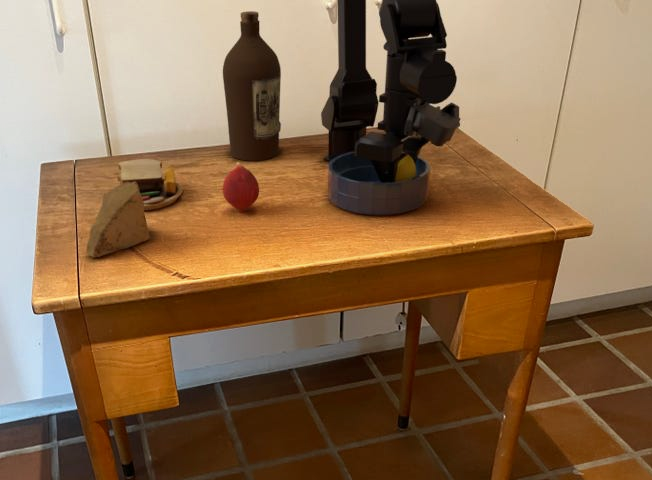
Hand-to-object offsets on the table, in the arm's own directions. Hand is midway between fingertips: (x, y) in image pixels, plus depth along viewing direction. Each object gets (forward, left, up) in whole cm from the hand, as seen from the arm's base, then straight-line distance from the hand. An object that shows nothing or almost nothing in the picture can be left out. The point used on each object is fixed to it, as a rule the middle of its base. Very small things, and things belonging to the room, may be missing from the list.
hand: (396, 187), depth 118 cm
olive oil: (-34, +8, -3) cm, 35 cm away
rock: (-27, -36, -3) cm, 45 cm away
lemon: (0, 0, -2) cm, 2 cm away
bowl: (-3, 0, -2) cm, 4 cm away
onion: (-19, -16, -3) cm, 25 cm away
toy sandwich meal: (-37, -20, -3) cm, 43 cm away
